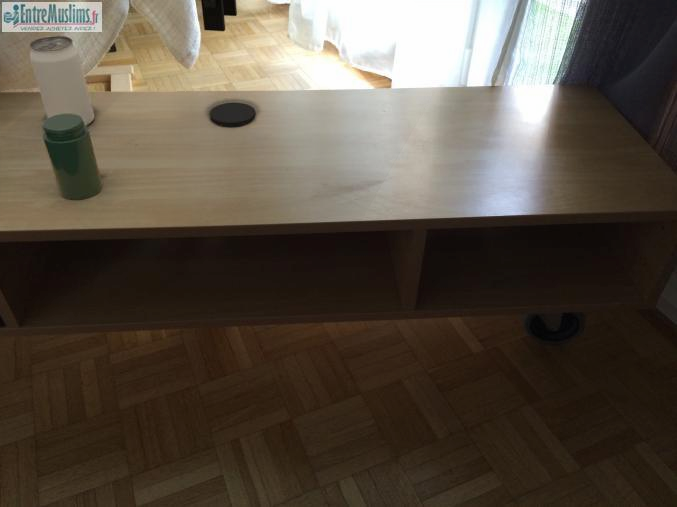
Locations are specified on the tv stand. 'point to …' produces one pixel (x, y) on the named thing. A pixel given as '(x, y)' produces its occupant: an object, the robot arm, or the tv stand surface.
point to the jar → (72, 156)
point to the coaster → (232, 114)
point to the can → (60, 77)
